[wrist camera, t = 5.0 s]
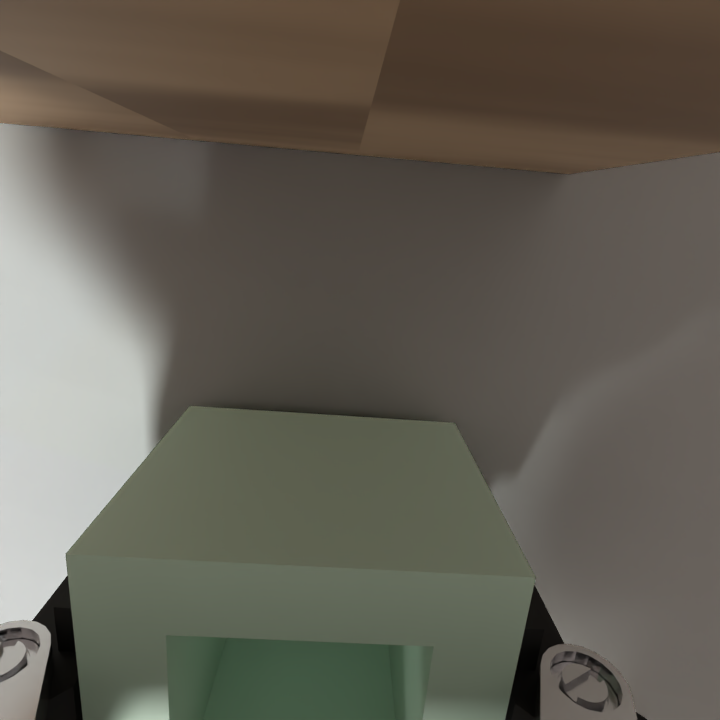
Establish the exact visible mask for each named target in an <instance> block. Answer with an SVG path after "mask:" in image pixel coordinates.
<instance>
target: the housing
mask: <svg viewBox="0 0 720 720" xmlns="http://www.w3.org/2000/svg"><path fill="white" fill-rule="evenodd" d="M0 123H8V124H19V125H30V126H42V127H53V128H64V129H75V130H86V131H97V132H108V133H119V134H130V135H141V136H152V137H163V138H174V139H185V140H197V141H208V142H219V143H230V144H241V145H252V146H263V147H274V148H285V149H296V150H307V151H318V152H329V153H340V154H352V155H363V156H374V157H385V158H396V159H407V160H418V161H429V162H440V163H451V164H462V165H473V166H484V167H495V168H507V169H518V170H529V171H540V172H551V173H562V174H574V173H580V172H587V171H594V170H601V169H608V168H614V167H621V166H628V165H635V164H642V163H648V162H655V161H662V160H669V159H676V158H682V157H689V156H696V155H703V154H710V153H717V152H720V0H0Z"/></svg>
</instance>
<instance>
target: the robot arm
mask: <svg viewBox="0 0 720 720" xmlns="http://www.w3.org/2000/svg"><path fill="white" fill-rule="evenodd" d="M0 720H83V716H82V706H81V697H80V687H79V678H78V668H77V659H76V649H75V640H74V630H73V620H72V611H71V601H70V592H69V582H68V576H67V577H66V578H65V580H64V581H63V582H62V583H61V585H60V586H59V587H58V589H57V590H56V591H55V592H54V594H53V595H52V596H51V597H50V599H49V600H48V601H47V603H46V604H45V605H44V606H43V608H42V609H41V610H40V612H39V613H38V614H37V615H36V617H35V618H34V619H33V620H32V621H28V620H20V621H11V622H7V623H3V624H0ZM505 720H647V719H646V718H644V717H643V716H641V715H640V714H638V713H637V712H636V710H635V705H634V700H633V695H632V693H631V690H630V687H629V685H628V683H627V681H626V680H625V678H624V677H623V676H622V674H621V673H620V671H619V670H617V669H616V668H615V667H614V666H613V665H612V664H611V663H610V662H609V661H608V660H606V659H605V658H603V657H602V656H600V655H599V654H597V653H596V652H593V651H591V650H589V649H586V648H584V647H581V646H577V645H572V644H564V642H563V640H562V638H561V636H560V634H559V632H558V630H557V628H556V626H555V624H554V622H553V621H552V619H551V617H550V615H549V613H548V611H547V609H546V607H545V605H544V603H543V601H542V599H541V597H540V595H539V593H538V591H537V589H536V587H535V585H534V588H533V593H532V598H531V602H530V607H529V611H528V616H527V621H526V625H525V630H524V634H523V639H522V644H521V648H520V653H519V658H518V662H517V667H516V671H515V676H514V681H513V685H512V690H511V695H510V699H509V704H508V708H507V713H506V718H505Z"/></svg>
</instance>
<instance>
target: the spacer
mask: <svg viewBox="0 0 720 720" xmlns="http://www.w3.org/2000/svg"><path fill="white" fill-rule="evenodd" d="M66 563H67V573H68V582H69V592H70V601H71V611H72V620H73V630H74V640H75V649H76V659H77V668H78V678H79V687H80V697H81V706H82V716H83V720H505V718H506V713H507V708H508V704H509V699H510V695H511V690H512V685H513V681H514V676H515V671H516V667H517V662H518V658H519V653H520V648H521V644H522V639H523V634H524V630H525V625H526V621H527V616H528V611H529V607H530V602H531V598H532V593H533V588H534V584H535V579H536V577H535V575H534V573H533V571H532V569H531V567H530V566H529V564H528V562H527V560H526V558H525V556H524V554H523V552H522V550H521V548H520V546H519V545H518V543H517V541H516V539H515V537H514V535H513V533H512V531H511V529H510V527H509V525H508V524H507V522H506V520H505V518H504V516H503V514H502V512H501V510H500V508H499V506H498V504H497V503H496V501H495V499H494V497H493V495H492V493H491V491H490V489H489V487H488V485H487V483H486V482H485V480H484V478H483V476H482V474H481V472H480V470H479V468H478V466H477V464H476V462H475V461H474V459H473V457H472V455H471V453H470V451H469V449H468V447H467V445H466V443H465V441H464V440H463V438H462V436H461V434H460V432H459V430H458V428H457V426H456V424H455V423H450V422H434V421H419V420H403V419H388V418H372V417H357V416H341V415H326V414H310V413H294V412H279V411H263V410H248V409H232V408H217V407H201V406H189V407H188V409H187V410H186V411H185V412H184V413H183V415H182V416H181V417H180V418H179V419H178V421H177V422H176V423H175V424H174V425H173V427H172V428H171V429H170V430H169V431H168V432H167V434H166V435H165V436H164V437H163V438H162V440H161V441H160V442H159V443H158V444H157V446H156V447H155V448H154V449H153V450H152V452H151V453H150V454H149V455H148V456H147V458H146V459H145V460H144V461H143V462H142V464H141V465H140V466H139V467H138V468H137V470H136V471H135V472H134V473H133V474H132V475H131V477H130V478H129V479H128V480H127V481H126V483H125V484H124V485H123V486H122V487H121V489H120V490H119V491H118V492H117V493H116V495H115V496H114V497H113V498H112V499H111V501H110V502H109V503H108V504H107V505H106V507H105V508H104V509H103V510H102V511H101V512H100V514H99V515H98V516H97V517H96V518H95V520H94V521H93V522H92V523H91V524H90V526H89V527H88V528H87V529H86V530H85V532H84V533H83V534H82V535H81V536H80V538H79V539H78V540H77V541H76V542H75V544H74V545H73V546H72V547H71V548H70V549H69V551H68V552H67V553H66Z"/></svg>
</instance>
